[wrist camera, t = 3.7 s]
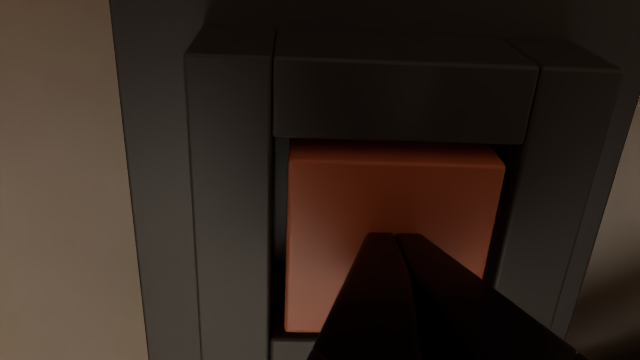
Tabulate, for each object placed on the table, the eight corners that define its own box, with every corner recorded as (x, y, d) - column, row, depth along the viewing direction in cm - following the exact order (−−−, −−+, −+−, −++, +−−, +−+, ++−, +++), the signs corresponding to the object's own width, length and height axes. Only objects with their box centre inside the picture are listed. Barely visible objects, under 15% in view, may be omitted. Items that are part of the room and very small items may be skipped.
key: (448, 275, 11) (472, 336, 10) (285, 272, 11) (284, 333, 10) (474, 123, 10) (507, 166, 8) (290, 117, 10) (288, 159, 8)
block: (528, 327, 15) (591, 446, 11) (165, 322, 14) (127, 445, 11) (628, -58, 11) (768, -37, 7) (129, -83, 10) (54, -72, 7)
